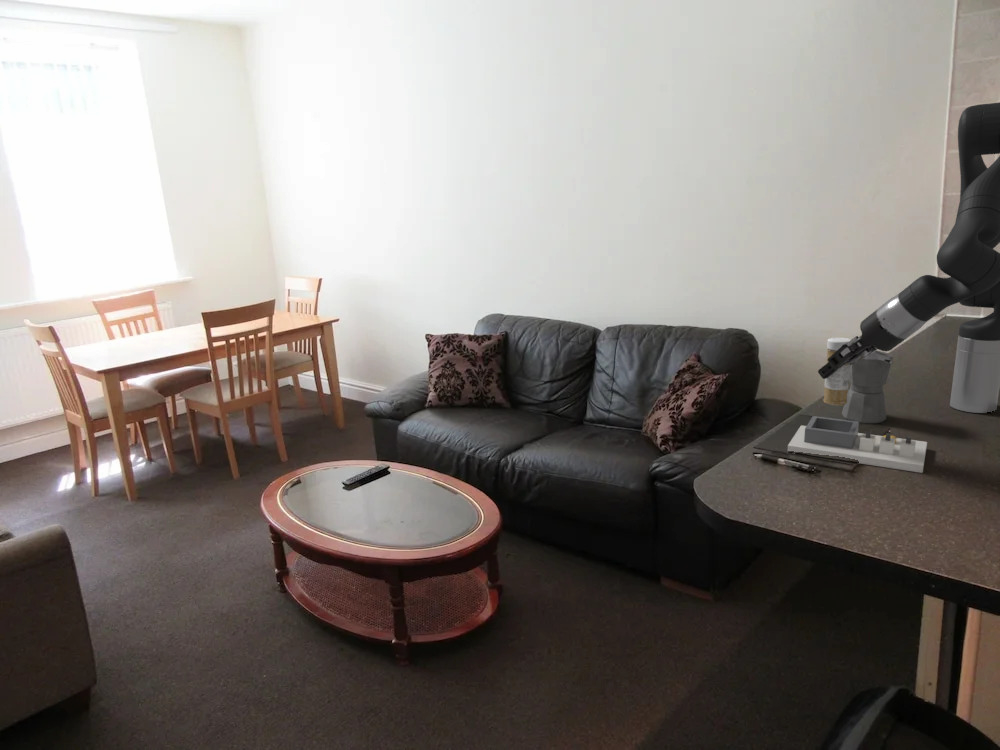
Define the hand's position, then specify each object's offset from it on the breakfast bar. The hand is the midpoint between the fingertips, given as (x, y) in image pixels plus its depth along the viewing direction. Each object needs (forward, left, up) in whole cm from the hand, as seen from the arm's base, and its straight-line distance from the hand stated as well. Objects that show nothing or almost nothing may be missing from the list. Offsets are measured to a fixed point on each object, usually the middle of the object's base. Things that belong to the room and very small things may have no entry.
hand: (827, 372), depth 144 cm
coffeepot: (-22, +5, -16) cm, 28 cm away
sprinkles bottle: (+1, +2, -6) cm, 7 cm away
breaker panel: (+2, +7, -15) cm, 17 cm away
